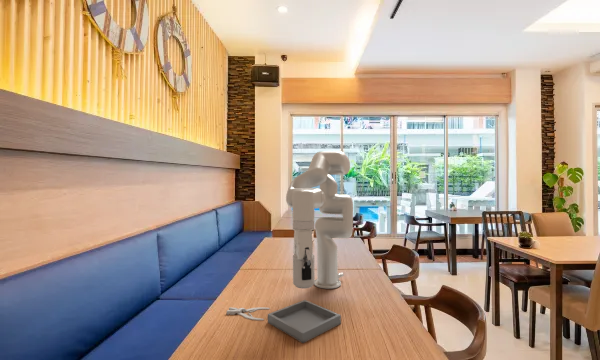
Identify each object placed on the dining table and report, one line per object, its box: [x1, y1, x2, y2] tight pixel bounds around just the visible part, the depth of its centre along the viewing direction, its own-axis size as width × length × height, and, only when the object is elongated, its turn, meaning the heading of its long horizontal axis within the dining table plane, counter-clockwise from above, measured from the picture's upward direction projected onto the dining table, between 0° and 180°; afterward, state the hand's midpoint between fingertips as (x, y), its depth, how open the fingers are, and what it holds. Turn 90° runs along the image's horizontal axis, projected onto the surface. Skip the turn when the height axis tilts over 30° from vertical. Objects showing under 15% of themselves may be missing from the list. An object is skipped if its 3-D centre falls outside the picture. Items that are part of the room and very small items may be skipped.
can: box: [292, 252, 316, 289], centre depth 106 cm, size 8×8×12 cm
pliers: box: [226, 306, 271, 321], centre depth 114 cm, size 10×2×15 cm
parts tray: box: [267, 299, 342, 344], centre depth 106 cm, size 18×18×3 cm
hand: (303, 275), depth 106 cm, fingers closed on can, 7 cm apart
